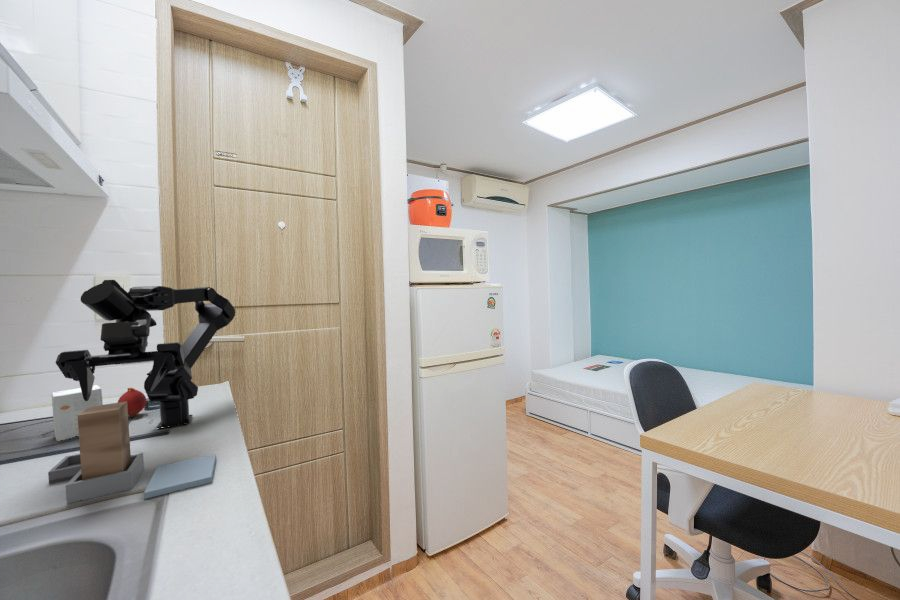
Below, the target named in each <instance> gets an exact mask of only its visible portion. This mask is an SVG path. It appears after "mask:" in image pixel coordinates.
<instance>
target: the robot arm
mask: <svg viewBox="0 0 900 600" xmlns="http://www.w3.org/2000/svg"><path fill="white" fill-rule="evenodd" d="M80 302H81V303H82V304H83V305H85V306H86V307H87V308H88V309H90V310H91V311H92V312H94V313H95V314H96V315H98V316H99V317H100V318H102V319H103V320H105V321H110V322H105V323H102V324H101V330H100V341H101V342H104V343H103V350H104V352H107V351H108V353H107V354H98V355H92V354H91V353H90V351H89V349H80V350H79V349H78V350H67V351H62V352H60V353H59V354H58V355H57V357H56V360H55V362H54V363H55V364H56V366H57V367H58V369H59V371H60V373H62V374H63V376H64V378H66V379H70V380H73V381H75V382H79V386H80V387H79V388H81V391H82V395H83V399H84V400H85V401H88V400H89V398H90V396H91V392H92V387H93V386H94V382H95V375H94V374H95V371H96V367H101V366H102V367H103V366H112V365H116V366H117V365H134V364H141V363H143V364H144V363H151V362H153V364H152V368H151V370H150V371H149V372H148V373H146V376H147V377H146V378H145V380H144V383H143V384H144V385H143V389H144V391H145V393H146V396H147V398H148V400H149V402H150V403H154V402H159V414H160V416H159V417H160V421H159V423H158V424H157V426H156V429H157V428H161V427H167V428H173V427H177V426H183V425H188V424H190V423H191V421H192V419H193V416H194V415H193V414H190V406H189V404H190V403H189V400H192V399H195V397H197V395H198V391H199V386H198V385H197V384H195V383H194V382H193V381H192V379H193V374H192V368H193V367H194V365H195V363H196V362H197V360H198V359H199V357H200V356H201V355H202V353H203V352H204V350H205V349H206V348H207V346H208V344H209V343H210V342H211V340H212V339H213V337H214V336H215V335H216V333H217V332H218V331H220V330H222V329H223V328H225V327H227V326H228V325H229V324H230V323H231V322H232V321H233V320H234V318H235V316H236V309H235V307H234V305H233V304H232V303H231V302H230V301H229V299H227V298H226V297H224V296H222V295H221V294H219V293H217V291H216V289H214V288H213V287H210V286H197V287H194V288H175V289H174V288H173V287H168V286H163V285H153V286H151V285H150V286H148V285H147V286H145V285H144V286H132V287H131V288H129V290H128V291H127V290H125V289H124V288H123V287H122V286H121V285H120V283H118V281H116V280H115V279H104V280H103V281H102V282H101V283H99V284H95V285H93V286H92V287H90V288H89V289H87V290H84V291H83V293H82V294H81V296H80ZM205 302H210V303H205ZM185 303H186V304H187V303H195V305H194V310H195V312H197V313H198V314H197V316H198V318H197V319H198V323H197V325H196V326H195V327H194V329H193V330H192V332H191V333H190V334H189V336H188V337H187V338H186V340H185V341H184V342H183V344H181V343H180V342H178V341H176V342H175V341H174V342H165V343H157V344H156V350H153V351H146V349H147V348H148V346H149V345H148V344H149V342H148V338H149V336H150V331H151V330H150V328H151V327H156V326H157V322H156V320H155V319H154V318H153V317H152V315H151V313H150V312H151V311H165V310H168V309H171V308H173V307H174V306H175V305H177V304H185ZM149 311H150V312H149ZM111 321H115V322H111ZM168 426H170V427H168Z"/></svg>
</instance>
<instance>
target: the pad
mask: <svg viewBox="0 0 900 600" xmlns="http://www.w3.org/2000/svg"><path fill="white" fill-rule="evenodd" d="M216 461H217V454H216V453H214V454H213V453H212V454H209V455H204V456H200V457H194V458H191V459H185V460H181V461H176V462H171V463H167V464H162V465H158V466H156V468H155V471H154V473H153V475H152V476H151V477H150V478H151V479H150V480H149V481H148V482H149V483H147V486H146V488H145V490H144V491H143V499H145V500H146V499H151V498H154V497H157V496H158V497H159V496H163V495H166V494H169V493H174V491H175V492H178V491H177V490H179V491H182V490H181V489H183V490H186V489H185V488H187V489H190V488H189V487H191V488H194V486H195V487H198V486H199V487H200V486H202V485H207V484H211V483H213V482H212V481H213V476H214V472H215V466H216Z"/></svg>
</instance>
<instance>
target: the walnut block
mask: <svg viewBox="0 0 900 600" xmlns="http://www.w3.org/2000/svg"><path fill="white" fill-rule="evenodd" d="M78 429H79V437H78V441H79V454H80V458H81V473H82V480H86V479H90V478H95V477H100V476H104V475H109V474H114V473H118V472H123V471H127V470H128V468H129V467H130V465H131V455H132V454H131V441H130V427H129V415H128V406H127V401H126V402H119V403H118V402H115V403H106V404H103V405H98V406H91V407H88V408H87V409H86V410H84V411H83V412H81V413H80V414H79V415H78Z"/></svg>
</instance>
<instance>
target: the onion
mask: <svg viewBox="0 0 900 600" xmlns="http://www.w3.org/2000/svg"><path fill="white" fill-rule="evenodd" d="M126 401H127V406H128V417H135V416H136V415H138V414H139V413H140V412H142V411H143V410H144V408H145V407H146V405H147V397H146V395H145V394H144V393H143V392H142V391H140V390H137V389H135V388H134V387H131V386H129V387H128V388H127V391H126V392H124V393H122V394H121V396H120V397H119V398H118V400H117V403H119V402H126Z"/></svg>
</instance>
